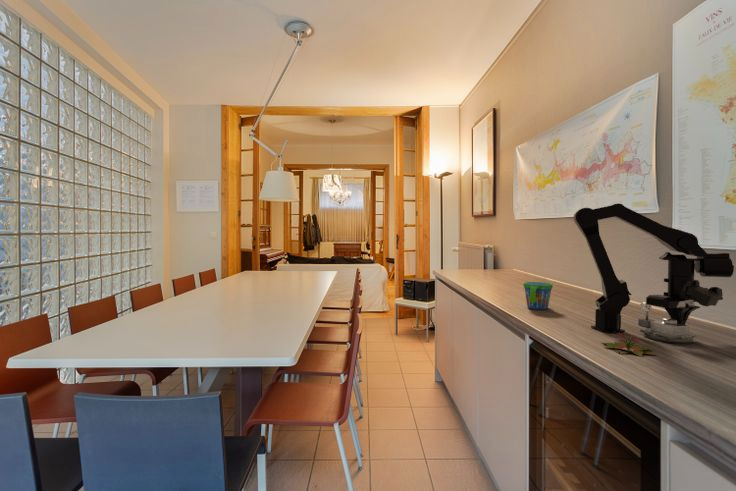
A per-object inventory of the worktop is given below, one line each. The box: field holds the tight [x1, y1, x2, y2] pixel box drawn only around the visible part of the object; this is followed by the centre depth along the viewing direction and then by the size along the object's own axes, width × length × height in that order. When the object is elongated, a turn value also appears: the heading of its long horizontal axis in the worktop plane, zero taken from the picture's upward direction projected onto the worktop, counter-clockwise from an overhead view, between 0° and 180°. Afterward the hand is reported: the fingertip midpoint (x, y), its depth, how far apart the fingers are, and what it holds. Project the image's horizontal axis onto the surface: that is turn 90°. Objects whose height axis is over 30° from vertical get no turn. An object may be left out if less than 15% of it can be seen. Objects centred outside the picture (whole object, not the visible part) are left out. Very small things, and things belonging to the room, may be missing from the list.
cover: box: [649, 317, 690, 336], centre depth 99 cm, size 6×6×4 cm
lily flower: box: [603, 332, 659, 358], centre depth 90 cm, size 12×12×5 cm
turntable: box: [639, 328, 697, 345], centre depth 100 cm, size 11×11×2 cm
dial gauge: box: [637, 301, 656, 328], centre depth 113 cm, size 3×3×8 cm
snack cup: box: [523, 281, 554, 311], centre depth 139 cm, size 16×10×10 cm
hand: (679, 329), depth 101 cm, fingers closed
